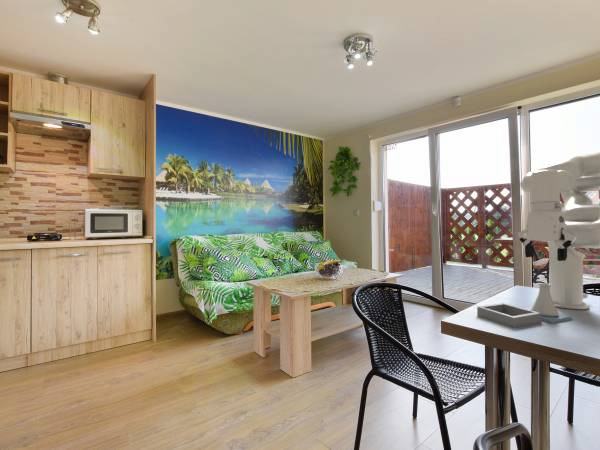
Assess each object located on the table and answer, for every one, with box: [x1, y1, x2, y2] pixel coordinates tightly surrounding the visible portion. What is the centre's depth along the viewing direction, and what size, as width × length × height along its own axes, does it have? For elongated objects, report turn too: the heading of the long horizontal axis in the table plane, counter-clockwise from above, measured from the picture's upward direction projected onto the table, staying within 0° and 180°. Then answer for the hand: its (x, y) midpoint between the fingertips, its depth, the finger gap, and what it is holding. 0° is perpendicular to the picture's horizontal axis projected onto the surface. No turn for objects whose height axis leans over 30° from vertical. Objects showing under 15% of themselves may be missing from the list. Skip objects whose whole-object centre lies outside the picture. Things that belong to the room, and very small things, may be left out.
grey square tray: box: [476, 302, 542, 328], centre depth 98 cm, size 12×12×3 cm
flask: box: [530, 282, 559, 316], centre depth 99 cm, size 7×7×10 cm
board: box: [529, 308, 573, 324], centre depth 99 cm, size 10×10×1 cm
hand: (544, 258), depth 99 cm, fingers open, 9 cm apart
